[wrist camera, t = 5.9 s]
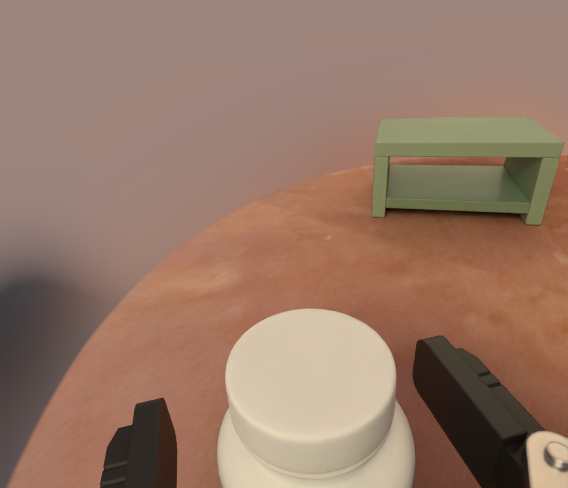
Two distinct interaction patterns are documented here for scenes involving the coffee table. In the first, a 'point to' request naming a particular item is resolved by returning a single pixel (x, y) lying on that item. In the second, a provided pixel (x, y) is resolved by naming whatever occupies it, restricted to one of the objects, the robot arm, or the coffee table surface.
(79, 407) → the coffee table surface
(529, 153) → the stand
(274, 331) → the pill bottle
